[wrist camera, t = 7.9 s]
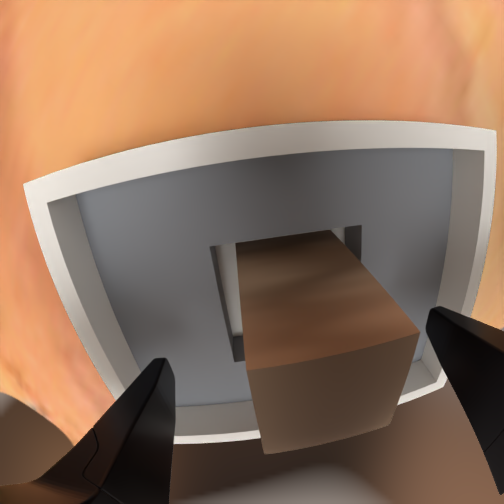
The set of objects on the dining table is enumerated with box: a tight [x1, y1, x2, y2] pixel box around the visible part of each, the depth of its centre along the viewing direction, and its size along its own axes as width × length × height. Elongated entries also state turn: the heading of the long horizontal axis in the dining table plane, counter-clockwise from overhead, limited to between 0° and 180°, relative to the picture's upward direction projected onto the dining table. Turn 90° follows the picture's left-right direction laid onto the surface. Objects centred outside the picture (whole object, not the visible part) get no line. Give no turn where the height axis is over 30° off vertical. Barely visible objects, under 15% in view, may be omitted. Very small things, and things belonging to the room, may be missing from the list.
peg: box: [235, 230, 420, 454], centre depth 10 cm, size 4×4×7 cm
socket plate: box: [75, 148, 453, 407], centre depth 12 cm, size 14×11×2 cm
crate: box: [23, 120, 497, 444], centre depth 12 cm, size 16×13×4 cm
